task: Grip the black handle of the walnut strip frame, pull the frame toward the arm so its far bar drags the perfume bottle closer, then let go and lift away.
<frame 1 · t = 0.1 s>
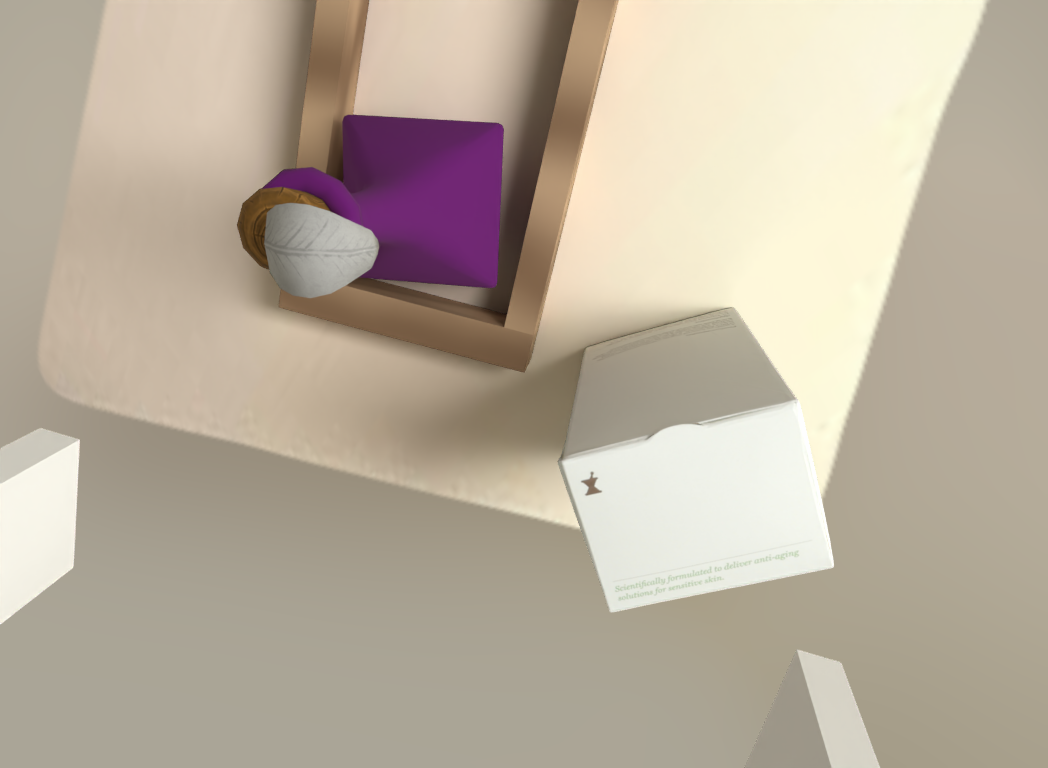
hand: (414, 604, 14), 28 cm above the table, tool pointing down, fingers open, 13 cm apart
strip frame: (430, 83, 33), point 5 cm above the table, slide at 0.0 cm
skincare box: (674, 376, 41), on the table
perfume bottle: (439, 196, 40), resting in strip frame
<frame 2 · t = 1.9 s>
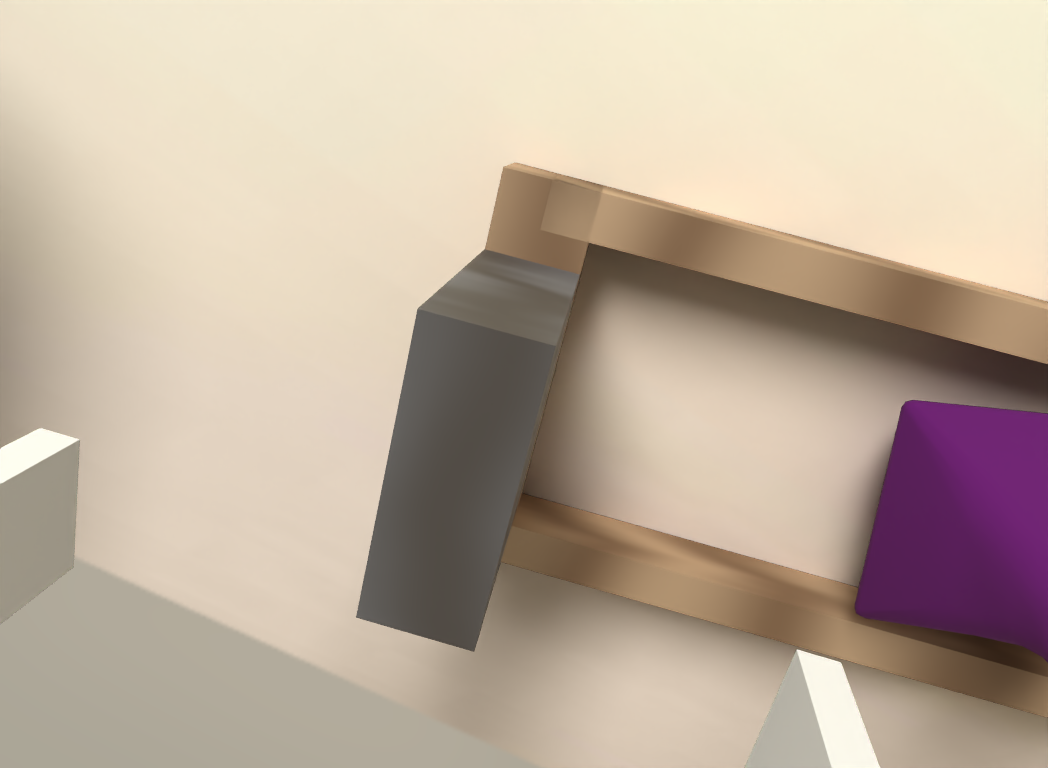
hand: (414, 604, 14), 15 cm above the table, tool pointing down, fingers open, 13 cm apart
strip frame: (853, 512, 22), point 5 cm above the table, slide at 0.0 cm
perfume bottle: (960, 478, 27), resting in strip frame
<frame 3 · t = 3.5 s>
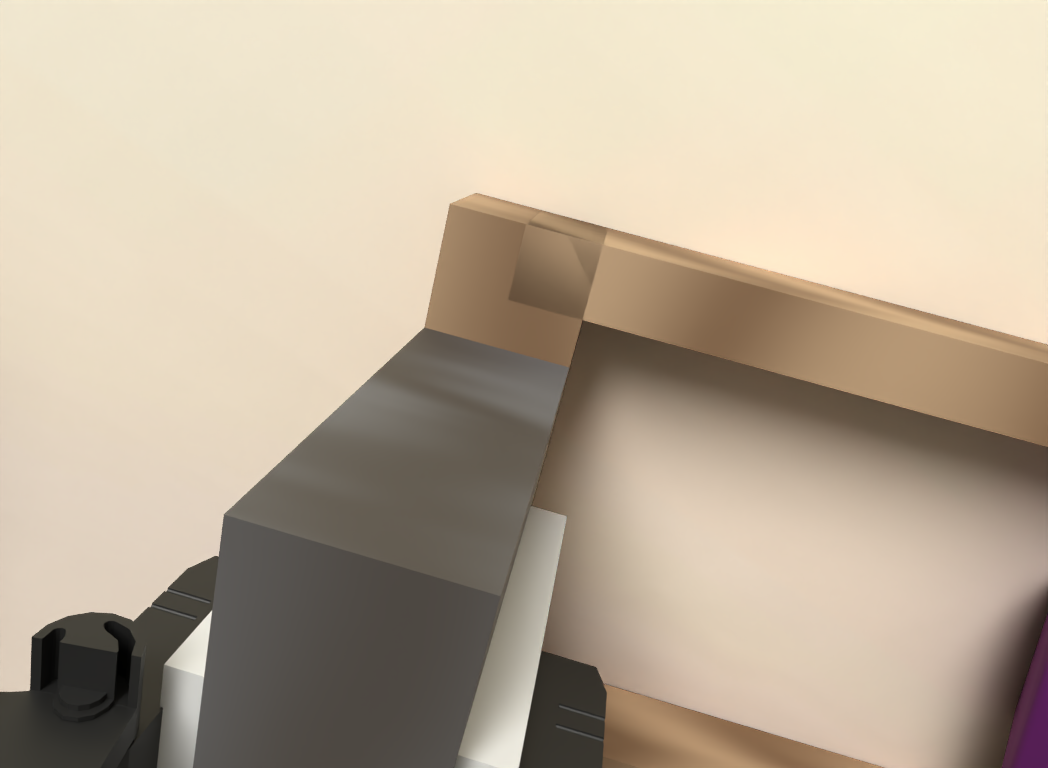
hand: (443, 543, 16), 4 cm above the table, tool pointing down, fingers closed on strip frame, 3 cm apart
strip frame: (1006, 763, 14), point 5 cm above the table, slide at 0.0 cm, touching gripper
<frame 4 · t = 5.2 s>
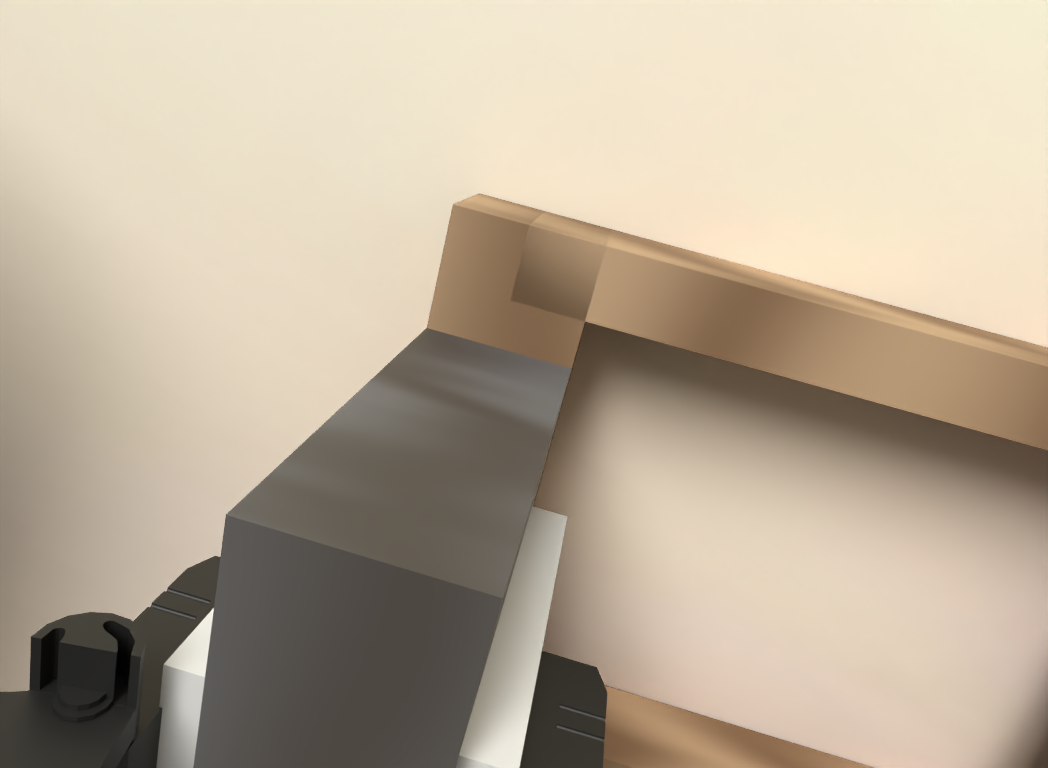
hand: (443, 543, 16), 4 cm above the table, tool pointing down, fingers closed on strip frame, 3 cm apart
strip frame: (1007, 767, 14), point 5 cm above the table, slide at 6.1 cm, touching gripper, perfume bottle
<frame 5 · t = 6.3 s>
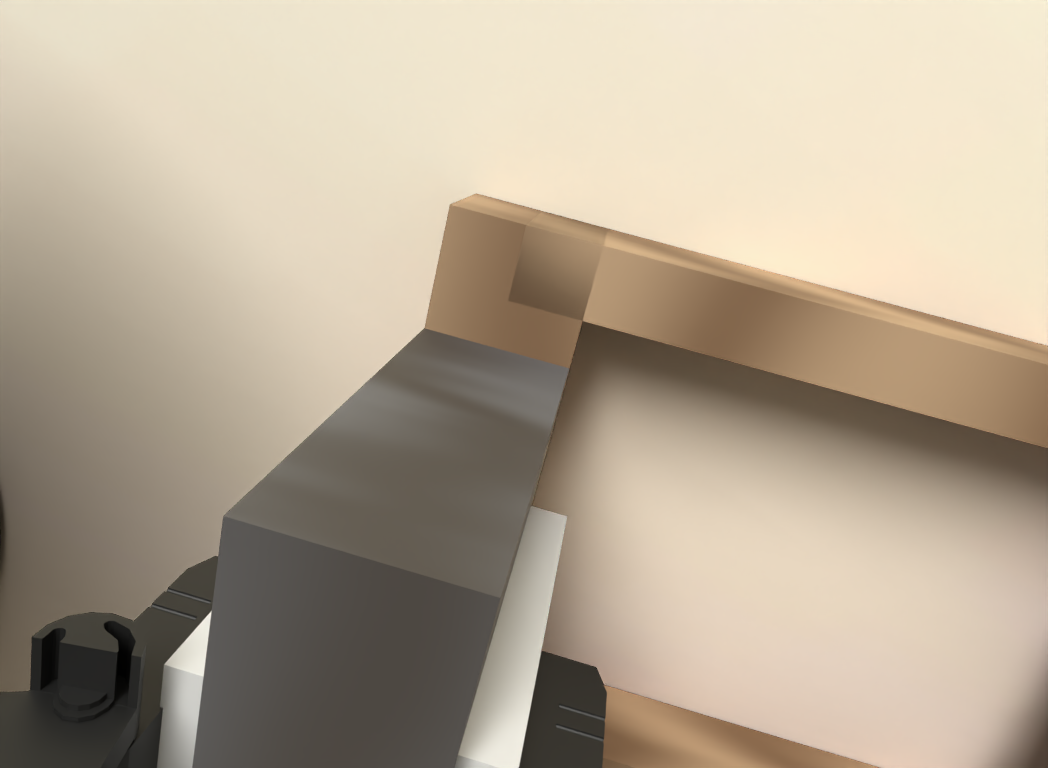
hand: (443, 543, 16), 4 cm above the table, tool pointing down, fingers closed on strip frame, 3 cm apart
strip frame: (1006, 765, 14), point 5 cm above the table, slide at 10.0 cm, touching gripper
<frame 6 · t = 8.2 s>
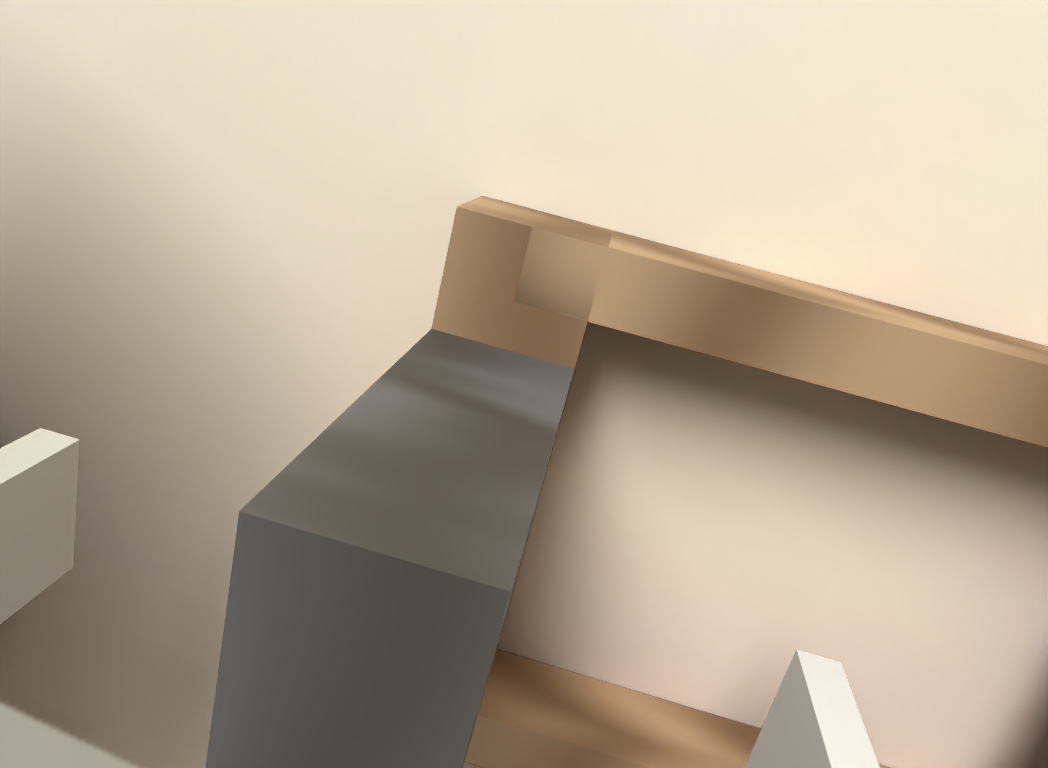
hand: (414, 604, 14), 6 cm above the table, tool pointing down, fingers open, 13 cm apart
strip frame: (1007, 760, 14), point 5 cm above the table, slide at 10.0 cm
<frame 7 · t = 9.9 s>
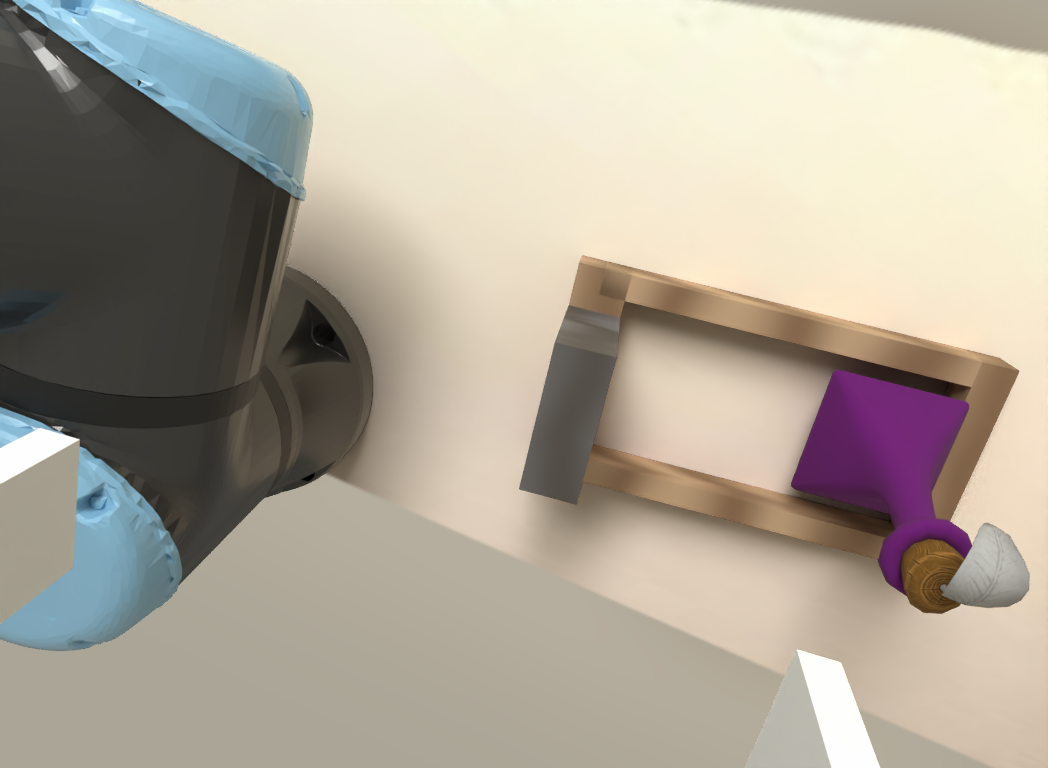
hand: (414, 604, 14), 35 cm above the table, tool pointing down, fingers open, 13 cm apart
strip frame: (765, 440, 43), point 5 cm above the table, slide at 10.0 cm
perfume bottle: (861, 424, 47), resting in strip frame
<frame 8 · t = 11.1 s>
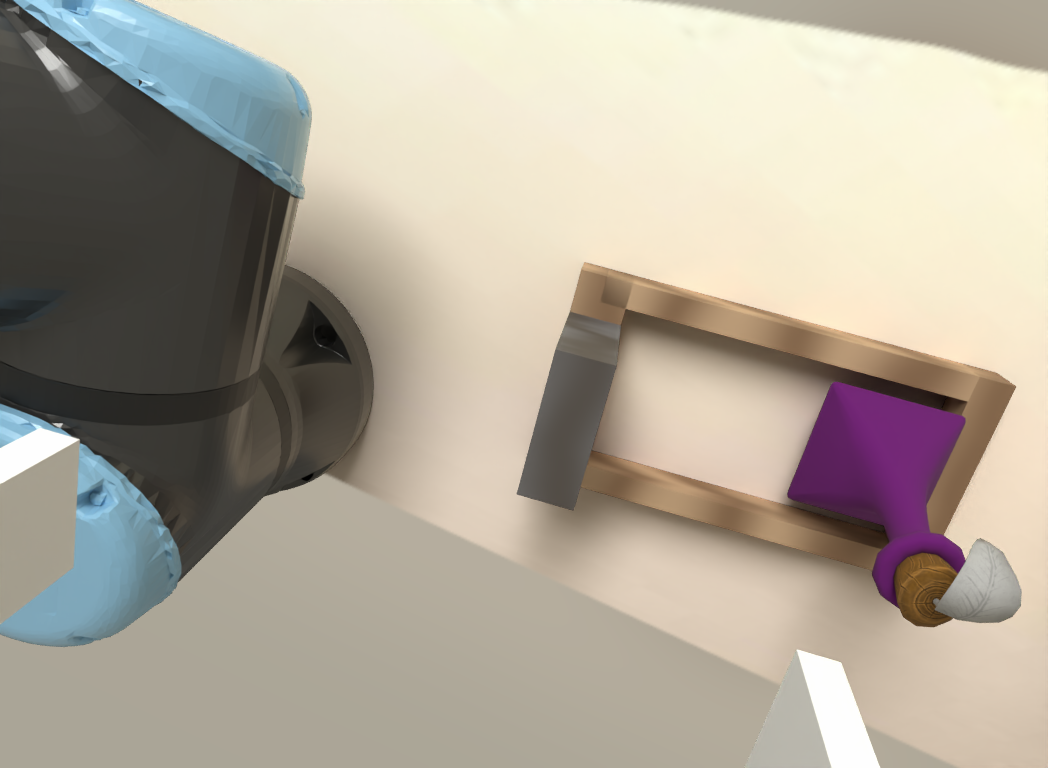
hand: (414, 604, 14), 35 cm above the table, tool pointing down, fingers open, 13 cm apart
strip frame: (762, 450, 43), point 5 cm above the table, slide at 10.0 cm
perfume bottle: (857, 436, 47), resting in strip frame
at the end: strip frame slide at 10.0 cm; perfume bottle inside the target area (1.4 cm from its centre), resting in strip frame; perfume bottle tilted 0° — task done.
